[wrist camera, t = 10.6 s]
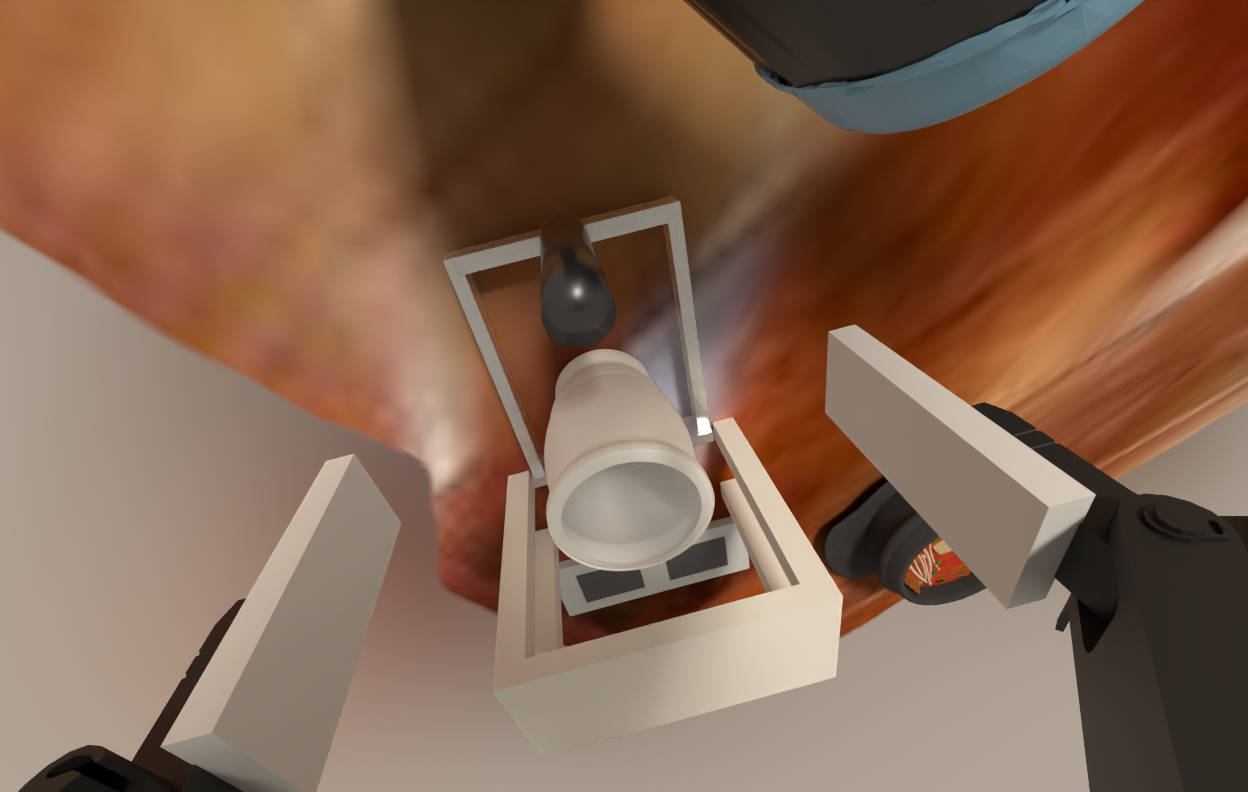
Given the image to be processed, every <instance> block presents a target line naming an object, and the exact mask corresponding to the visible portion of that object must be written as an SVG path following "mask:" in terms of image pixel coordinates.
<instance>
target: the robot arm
mask: <svg viewBox="0 0 1248 792" xmlns="http://www.w3.org/2000/svg"><path fill="white" fill-rule="evenodd" d="M683 1H685V2H686V3H687V4H688V5H689V6H690V7H691V8H692V9H694V10H695V11H696V12H697V13H698V14H699V15H700V16H701V17H703V18H704V19H705V20H706V21H707V22H708V23H709V24H710V25H712V26H713V27H714V28H715V29H716V30H717V31H718V32H719V33H721V34H722V35H723V36H724V37H725V38H726V39H727V40H728V41H730V42H731V43H732V44H733V45H734V46H735V47H736V48H737V49H739V50H740V51H741V52H742V53H743V54H744V55H745V56H746V57H748V58H749V59H750V60H751V61H752V62H753V63H754V66H755V69H756V72H757V73H758V74H759V75H760V76H761V77H762V78H763V79H764V80H765V81H766V82H767V83H768V84H770V85H772V86H773V87H774V88H776V89H778V90H781V91H784V92H787V93H790V94H793V95H794V96H796V97H797V98H798V99H799V100H801V101H802V102H803V103H804V104H806V105H807V106H808V107H809V108H811V109H812V110H813V111H814V112H816V113H817V114H818V115H820V116H821V117H822V118H823V119H825V120H826V121H828V122H829V123H831V124H833V125H835V126H837V127H839V128H842V129H845V130H855V131H860V132H864V133H868V134H891V133H898V132H905V131H912V130H916V129H920V128H925V127H928V126H932V125H935V124H938V123H941V122H944V121H947V120H950V119H953V118H955V117H958V116H961V115H963V114H966V113H968V112H970V111H972V110H975V109H977V108H979V107H981V106H983V105H986V104H988V103H990V102H992V101H994V100H997V99H999V98H1000V97H1002V96H1004V95H1006V94H1008V93H1010V92H1012V91H1014V90H1016V89H1018V88H1019V87H1021V86H1023V85H1025V84H1027V83H1029V82H1031V81H1032V80H1034V79H1036V78H1037V77H1039V76H1041V75H1042V74H1044V73H1046V72H1047V71H1049V70H1050V69H1052V68H1054V67H1055V66H1057V65H1058V64H1060V63H1061V62H1063V61H1065V60H1066V59H1068V58H1069V57H1071V56H1072V55H1074V54H1075V53H1077V52H1078V51H1080V50H1081V49H1083V48H1084V47H1085V46H1087V45H1088V44H1090V43H1091V42H1092V41H1094V40H1095V39H1096V38H1098V37H1099V36H1100V35H1102V34H1103V33H1105V32H1106V31H1107V30H1108V29H1110V28H1111V27H1112V26H1114V25H1115V24H1116V23H1117V22H1119V21H1120V20H1121V19H1123V18H1124V17H1125V16H1126V15H1127V14H1129V13H1130V12H1131V11H1132V10H1133V9H1135V8H1136V7H1137V6H1138V5H1139V4H1141V3H1142V2H1143V1H1144V0H683ZM825 413H826V414H827V415H828V416H829V417H830V418H831V419H832V420H833V421H834V422H835V424H836V425H837V426H838V427H839V428H840V429H841V430H842V431H843V432H844V433H845V434H846V435H847V437H848V438H849V439H850V440H851V441H852V442H853V443H854V444H855V445H856V446H857V447H858V449H859V450H860V451H861V452H862V453H863V454H864V455H865V456H866V457H867V458H868V459H869V460H870V462H871V463H872V464H873V465H874V466H875V467H876V468H877V469H878V470H879V471H880V472H881V473H882V475H883V476H884V477H885V478H886V479H887V480H888V481H889V482H890V483H891V484H892V485H893V487H894V488H895V489H896V490H897V491H898V492H899V493H900V494H901V495H902V496H903V497H904V498H905V500H906V501H907V502H908V503H909V504H910V505H911V506H912V507H913V508H914V509H915V510H916V511H917V513H918V514H919V515H920V516H921V517H922V518H923V519H924V520H925V521H926V522H927V523H928V525H929V526H930V527H931V528H932V529H933V530H934V531H935V532H936V533H937V534H938V535H939V536H940V538H941V539H942V540H943V541H944V542H945V543H946V544H947V545H948V546H949V547H950V548H951V549H952V551H953V552H954V553H955V554H956V555H957V556H958V557H959V558H960V559H961V560H962V561H963V563H964V564H965V565H966V566H967V567H968V568H969V569H970V570H971V571H972V572H973V573H974V574H975V576H976V577H977V578H978V579H979V580H980V581H981V582H982V583H983V584H984V585H985V586H986V588H988V590H989V591H990V592H991V593H992V594H993V595H994V596H995V597H996V598H997V599H998V600H999V602H1000V603H1001V604H1002V605H1003V606H1004V607H1005V608H1006V609H1008V608H1012V607H1015V606H1019V605H1023V604H1027V603H1030V602H1033V601H1038V600H1041V599H1044V598H1046V596H1047V594H1048V592H1049V589H1050V588H1051V586H1052V584H1053V582H1054V580H1055V578H1056V579H1057V580H1058V581H1059V582H1060V583H1061V584H1062V585H1063V586H1065V587H1066V588H1067V589H1068V590H1069V591H1070V592H1071V595H1070V597H1069V599H1068V601H1067V603H1066V604H1065V606H1064V608H1063V610H1062V612H1061V614H1060V616H1059V618H1058V619H1057V624H1056V628H1055V629H1056V630H1059V631H1062V632H1063V631H1064V629H1065V628H1066V626H1067V624H1068V622H1069V621H1070V628H1071V636H1072V645H1073V653H1074V662H1075V671H1076V678H1077V687H1078V696H1079V704H1080V712H1081V720H1082V729H1083V737H1084V746H1085V754H1086V763H1087V771H1088V779H1089V788H1090V792H1248V516H1217V515H1216V514H1215V513H1213V512H1212V511H1209V510H1207V509H1205V508H1203V507H1200V506H1198V505H1196V504H1194V503H1191V502H1189V501H1185V500H1181V499H1178V498H1174V497H1170V496H1166V495H1154V494H1141V495H1138V494H1136V493H1134V492H1132V491H1131V490H1129V489H1128V488H1126V487H1125V486H1123V485H1122V484H1120V483H1119V482H1117V481H1116V480H1114V479H1112V478H1111V477H1109V476H1108V475H1106V474H1105V473H1103V472H1102V471H1100V470H1099V469H1097V468H1096V467H1094V466H1093V465H1091V464H1090V463H1088V462H1087V461H1085V460H1084V459H1082V458H1081V457H1079V456H1078V455H1076V454H1075V453H1073V452H1072V451H1070V450H1068V449H1067V448H1065V447H1064V446H1062V445H1061V444H1056V443H1055V442H1054V441H1055V440H1053V439H1052V438H1050V437H1049V436H1047V435H1046V434H1044V433H1043V432H1041V431H1036V428H1035V427H1034V426H1032V425H1031V424H1029V423H1028V422H1026V421H1024V420H1023V419H1021V418H1020V417H1018V416H1017V415H1015V414H1014V413H1012V412H1009V411H1007V410H1004V409H1001V408H998V407H996V406H993V405H990V404H988V403H985V402H984V403H980V404H976V405H973V406H970V405H968V404H967V403H966V402H964V401H963V400H961V399H960V398H959V397H957V396H956V395H954V394H953V393H952V392H950V391H949V390H947V389H946V388H944V387H943V386H942V385H940V384H939V383H937V382H936V381H935V380H933V379H932V378H930V377H929V376H927V375H926V374H925V373H923V372H922V371H920V370H919V369H918V368H916V367H915V366H913V365H912V364H911V363H909V362H908V361H906V360H905V359H903V358H902V357H901V356H899V355H898V354H896V353H895V352H894V351H892V350H891V349H889V348H888V347H886V346H885V345H884V344H882V343H881V342H879V341H878V340H877V339H875V338H874V337H872V336H871V335H870V334H868V333H867V332H865V331H864V330H862V329H861V328H860V327H858V326H857V325H851V326H848V327H844V328H840V329H836V330H832V331H828V353H827V378H826V403H825ZM400 526H401V522H400V521H399V519H398V518H397V516H396V515H395V513H394V512H393V510H392V509H391V507H390V506H389V504H388V503H387V501H386V500H385V498H384V497H383V495H382V494H381V492H380V491H379V490H378V488H377V486H376V485H375V484H374V482H373V481H372V479H371V478H370V476H369V475H368V473H367V472H366V471H365V469H364V467H363V466H362V464H361V463H360V461H359V460H358V459H357V457H356V455H355V454H352V455H348V456H344V457H340V458H336V459H332V460H328V461H326V462H325V464H324V465H323V467H322V469H321V471H320V472H319V474H318V476H317V478H316V479H315V481H314V483H313V485H312V486H311V488H310V490H309V491H308V493H307V495H306V497H305V498H304V500H303V502H302V503H301V505H300V507H299V509H298V510H297V512H296V514H295V515H294V517H293V519H292V521H291V522H290V524H289V526H288V528H287V529H286V531H285V533H284V534H283V536H282V538H281V540H280V541H279V543H278V545H277V547H276V548H275V550H274V552H273V554H272V555H271V557H270V559H269V560H268V562H267V564H266V565H265V567H264V569H263V571H262V572H261V574H260V576H259V578H258V579H257V581H256V583H255V584H254V586H253V588H252V590H251V591H250V593H249V595H248V596H247V598H245V599H242V600H238V601H237V602H236V603H235V604H234V605H233V606H232V607H231V609H230V610H229V611H228V612H227V613H226V614H225V615H224V616H223V617H222V618H221V619H220V620H219V621H218V622H217V624H216V625H215V626H214V628H213V629H212V631H211V632H210V634H209V636H208V637H207V639H206V641H205V642H204V644H203V645H202V647H201V649H200V650H199V652H200V654H199V656H196V657H195V659H194V660H193V662H192V664H191V665H190V667H189V668H188V670H187V672H186V678H184V679H182V680H181V681H180V683H179V685H178V687H177V688H176V690H175V691H174V693H173V695H172V696H171V698H170V700H169V701H168V703H167V704H166V706H165V708H164V709H163V711H162V713H161V714H160V716H159V718H158V719H157V721H156V722H155V724H154V726H153V728H152V729H151V731H150V732H149V734H148V736H147V737H146V739H145V740H144V742H143V744H142V746H141V747H140V749H139V750H138V752H137V754H136V755H135V757H134V758H133V760H132V762H131V761H129V760H127V759H125V758H123V757H121V756H119V755H117V754H115V753H113V752H111V751H109V750H108V749H106V748H104V747H102V746H93V745H87V746H84V747H81V748H79V749H76V750H73V751H71V752H69V753H67V754H65V755H64V756H62V757H61V758H59V759H57V760H56V761H54V762H53V763H51V764H49V765H48V766H47V767H46V768H44V769H43V770H42V771H41V772H39V773H38V774H37V775H36V776H35V777H33V778H32V779H31V780H30V781H29V782H28V783H26V784H25V785H24V786H23V787H22V788H21V789H20V790H19V792H316V791H317V787H318V784H319V781H320V778H321V775H322V772H323V768H324V765H325V762H326V759H327V756H328V753H329V750H330V747H331V743H332V740H333V737H334V734H335V731H336V728H337V725H338V721H339V718H340V715H341V712H342V709H343V705H344V702H345V699H346V696H347V693H348V690H349V686H350V683H351V680H352V677H353V674H354V671H355V667H356V665H357V661H358V658H359V655H360V652H361V649H362V646H363V643H364V639H365V636H366V633H367V630H368V627H369V624H370V621H371V617H372V614H373V611H374V608H375V605H376V602H377V598H378V595H379V592H380V589H381V586H382V583H383V579H384V577H385V573H386V570H387V567H388V563H389V561H390V558H391V555H392V551H393V548H394V545H395V542H396V538H397V535H398V532H399V529H400Z"/></svg>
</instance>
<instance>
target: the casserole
mask: <svg viewBox="0 0 1248 792" xmlns="http://www.w3.org/2000/svg"><path fill="white" fill-rule="evenodd" d="M823 556H824V559H825V562H826V564H827V565H828V567H829V568H830V569H831V570H832V571H833V572H834V573H836V574H837V575H839V576H842V577H845V578H848V579H858V578H862V577H866V576H869V575H873V574H877V573H878V577H879V580H880V582H881V583H882V585H883V586H884V587H885V588H887V589H888V590H889V591H891V592H894V593H897V594H900V595H901V596H903V597H904V598H905V599H907V600H908V601H910V602H913V603H916V604H921V605H939V604H944V603H949V602H953V601H957V600H960V599H963V598H966V597H968V596H971V595H974V594H975V593H978V592H979V591H982V590H983V589H986V586H985V585H984V584H983V583H982V582H981V581H980V580H979V579H978V578H977V577H976V576H975V574H974V573H973V572H972V571H971V570H970V569H969V568H968V567H967V566H966V565H965V564H964V563H963V561H962V560H961V559H960V558H959V557H958V556H957V555H956V554H955V553H954V552H953V551H952V549H951V548H950V547H949V546H948V545H947V544H946V543H945V542H944V541H943V540H942V539H941V538H940V536H939V535H938V534H937V533H936V532H935V531H934V530H933V529H932V528H931V527H930V526H929V525H928V523H927V522H926V521H925V520H924V519H923V518H922V517H921V516H920V515H919V514H918V513H917V511H916V510H915V509H914V508H913V507H912V506H911V505H910V504H909V503H908V502H907V501H906V500H905V498H904V497H903V496H902V495H901V494H900V493H899V492H898V491H897V490H896V489H895V488H894V487H893V485H892V484H891V483H890V482H889V481H888V482H886V483H885V484H883V485H882V486H881V487H880V488H879V489H878V490H877V491H876V492H875V493H874V494H872V495H871V496H870V497H869V498H868V499H867V500H866V501H865V502H864V503H863V504H862V505H861V506H860V507H859V508H858V509H856V510H855V511H854V512H852V513H851V514H850V515H848V516H847V517H846V518H844V519H843V520H842V521H840V522H839V523H838V524H836V525H835V526H834V527H833V528H832V529H831V530H830V532H829V533H828V534H827V536H826V538H825V541H824V545H823Z"/></svg>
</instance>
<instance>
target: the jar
mask: <svg viewBox="0 0 1248 792" xmlns="http://www.w3.org/2000/svg"><path fill="white" fill-rule="evenodd" d="M555 397H556V399H555V401H554V404H553V407H552V411H551V416H550V421H549V424H548V428H547V432H546V438H545V447H544V464H545V473H546V479H547V484H548V488H549V492H550V493H549V496H548V500H547V506H546V517H547V524H548V529H549V532H550V535H551V537H552V539H553V541H554V542H555V544H556V545H557V546H558V548H559V549H560V550H561V551H562V552H563V553H565V554H566V555H567V556H568V557H570V558H571V559H573V560H575V561H577V562H579V563H581V564H583V565H586V566H589V567H592V568H596V569H601V570H608V571H631V570H638V569H644V568H648V567H652V566H655V565H658V564H661V563H663V562H666V561H668V560H670V559H672V558H674V557H676V556H677V555H679V554H681V553H682V552H684V551H685V550H686V549H688V548H689V547H690V546H691V545H693V544H694V543H695V542H696V541H697V540H698V539H699V538H700V536H701V535H702V534H703V533H704V531H705V530H706V528H707V526H708V525H709V523H710V521H711V518H712V515H713V512H714V505H715V497H714V491H713V487H712V485H711V482H710V480H709V478H708V476H707V474H706V472H705V471H704V469H703V468H702V466H701V465H700V464H699V463H698V462H697V461H696V456H695V452H694V448H693V444H692V441H691V438H690V435H689V433H688V430H687V428H686V426H685V424H684V422H683V420H682V418H681V416H680V415H679V413H678V412H677V410H676V409H675V407H674V406H673V404H672V403H671V402H670V401H669V399H668V398H667V397H666V396H665V395H664V394H663V392H662V391H661V390H660V388H659V387H658V386H657V385H656V384H655V383H654V382H653V381H652V380H651V379H650V376H649V374H648V372H647V370H646V368H645V367H644V366H643V365H642V363H641V362H640V361H638V360H637V359H636V358H634V357H633V356H631V355H629V354H627V353H625V352H622V351H618V350H613V349H598V350H593V351H589V352H586V353H584V354H581V355H579V356H578V357H576V358H575V359H573V360H572V361H571V362H569V363H568V364H567V365H566V366H565V368H564V369H563V370H562V372H561V373H560V375H559V377H558V380H557V383H556V388H555Z"/></svg>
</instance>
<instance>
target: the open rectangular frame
mask: <svg viewBox="0 0 1248 792" xmlns="http://www.w3.org/2000/svg"><path fill="white" fill-rule="evenodd" d="M712 424H713V432H714V439H715V441H716V443H717V444H718V446H719V448H720V450H721V452H722V454H723V456H724V458H725V460H726V462H727V464H728V465H729V467H730V469H731V471H732V473H733V475H734V477H735V479H731V480H727V481H724V482H720V487H721V495H722V498H723V500H724V502H725V504H726V506H727V508H728V511H729V513H730V515H731V516H730V517H726V518H722V519H719V520H715V521H711V522H710V523H709V525H708V526H707V528H706V530H705V531H704V533H703V534H702V535H701V536H700V538H699V539H698V540H697V541H696V542H695V543H694V544H693V545H691V546H690V547H689V548H688V549H686V550H685V551H684V552H682V553H681V554H679V555H677V556H676V557H674V558H672V559H670V560H668V561H666V562H663V563H661V564H658V565H655V566H652V567H648V568H644V569H638V570H631V571H608V570H601V569H596V568H592V567H589V566H586V565H583V564H581V563H579V562H577V561H575V560H573V559H569V560H565V561H561V562H559V552H558V546H557V545H556V544H555V542H554V541H553V539H552V537H551V535H550V532H549V529H548V528H546V529H543V530H539V531H535V487H534V484H533V482H532V477H531V475H530V472H529V471H525V472H521V473H518V474H514V475H510V476H508V484H507V498H506V511H505V524H504V538H503V551H502V564H501V578H500V591H499V604H498V618H497V631H496V645H495V658H494V672H493V685H492V692H493V694H494V695H495V696H496V698H497V699H498V701H499V702H500V703H501V704H502V706H503V707H504V708H505V710H506V711H507V713H508V714H509V715H510V717H511V718H512V719H513V720H514V722H515V724H516V725H517V726H518V727H519V729H520V730H521V732H522V733H523V734H524V736H525V737H526V738H527V740H528V741H529V742H530V744H531V745H532V746H533V748H534V749H535V751H536V752H537V753H538V755H539V756H540V757H541V758H543V757H547V756H550V755H554V754H558V753H562V752H565V751H569V750H572V749H576V748H580V747H583V746H587V745H591V744H594V743H598V742H601V741H605V740H609V739H612V738H616V737H620V736H623V735H627V734H630V733H634V732H637V731H641V730H645V729H649V728H652V727H656V726H660V725H663V724H667V723H670V722H674V721H678V720H681V719H685V718H689V717H692V716H695V715H699V714H703V713H707V712H710V711H714V710H717V709H721V708H725V707H729V706H732V705H736V704H739V703H743V702H747V701H750V700H753V699H758V698H761V697H765V696H768V695H772V694H776V693H779V692H783V691H787V690H790V689H794V688H798V687H801V686H805V685H808V684H812V683H816V682H819V681H823V680H826V679H830V678H834V677H836V669H837V658H838V647H839V646H838V645H839V635H840V624H841V612H842V601H843V596H842V594H841V592H840V591H839V589H838V588H837V586H836V584H835V583H834V581H833V579H832V578H831V576H830V575H829V573H828V571H827V570H826V568H825V566H824V565H823V563H822V562H821V560H820V558H819V557H818V555H817V553H816V552H815V550H814V549H813V547H812V545H811V544H810V542H809V540H808V539H807V537H806V536H805V534H804V532H803V531H802V529H801V527H800V526H799V524H798V523H797V521H796V519H795V518H794V516H793V514H792V513H791V511H790V510H789V508H788V506H787V505H786V503H785V501H784V500H783V498H782V497H781V495H780V493H779V492H778V490H777V488H776V487H775V485H774V484H773V482H772V480H771V479H770V477H769V475H768V474H767V472H766V471H765V469H764V467H763V466H762V464H761V462H760V461H759V459H758V458H757V456H756V454H755V453H754V451H753V450H752V448H751V446H750V445H749V443H748V441H747V440H746V438H745V437H744V435H743V433H742V432H741V430H740V428H739V427H738V425H737V424H736V422H735V420H734V419H733V417H731V418H727V419H723V420H720V421H716V422H712ZM748 554H749V556H750V558H751V560H752V562H753V564H754V566H755V569H756V571H757V573H758V575H759V577H760V579H761V581H762V584H763V586H764V588H765V590H766V592H767V593H764V594H761V595H757V596H753V597H750V598H746V599H742V600H738V601H735V602H731V603H727V604H724V605H720V606H716V607H713V608H709V609H705V610H701V611H698V612H694V613H690V614H687V615H683V616H679V617H676V618H672V619H668V620H665V621H661V622H657V623H653V624H650V625H646V626H642V627H639V628H635V629H631V630H628V631H624V632H620V633H617V634H613V635H609V636H605V637H602V638H598V639H594V640H591V641H587V642H583V643H580V644H576V645H572V646H569V647H565V648H563V634H562V613H561V599H562V601H563V603H564V605H565V607H566V609H567V611H568V614H569V616H574V615H577V614H581V613H585V612H588V611H592V610H596V609H600V608H603V607H607V606H611V605H614V604H618V603H622V602H626V601H629V600H633V599H637V598H640V597H644V596H648V595H651V594H655V593H659V592H663V591H666V590H670V589H674V588H677V587H681V586H685V585H689V584H692V583H696V582H700V581H703V580H707V579H711V578H715V577H718V576H722V575H726V574H729V573H733V572H737V571H741V570H744V569H748V568H749V557H748Z"/></svg>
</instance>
